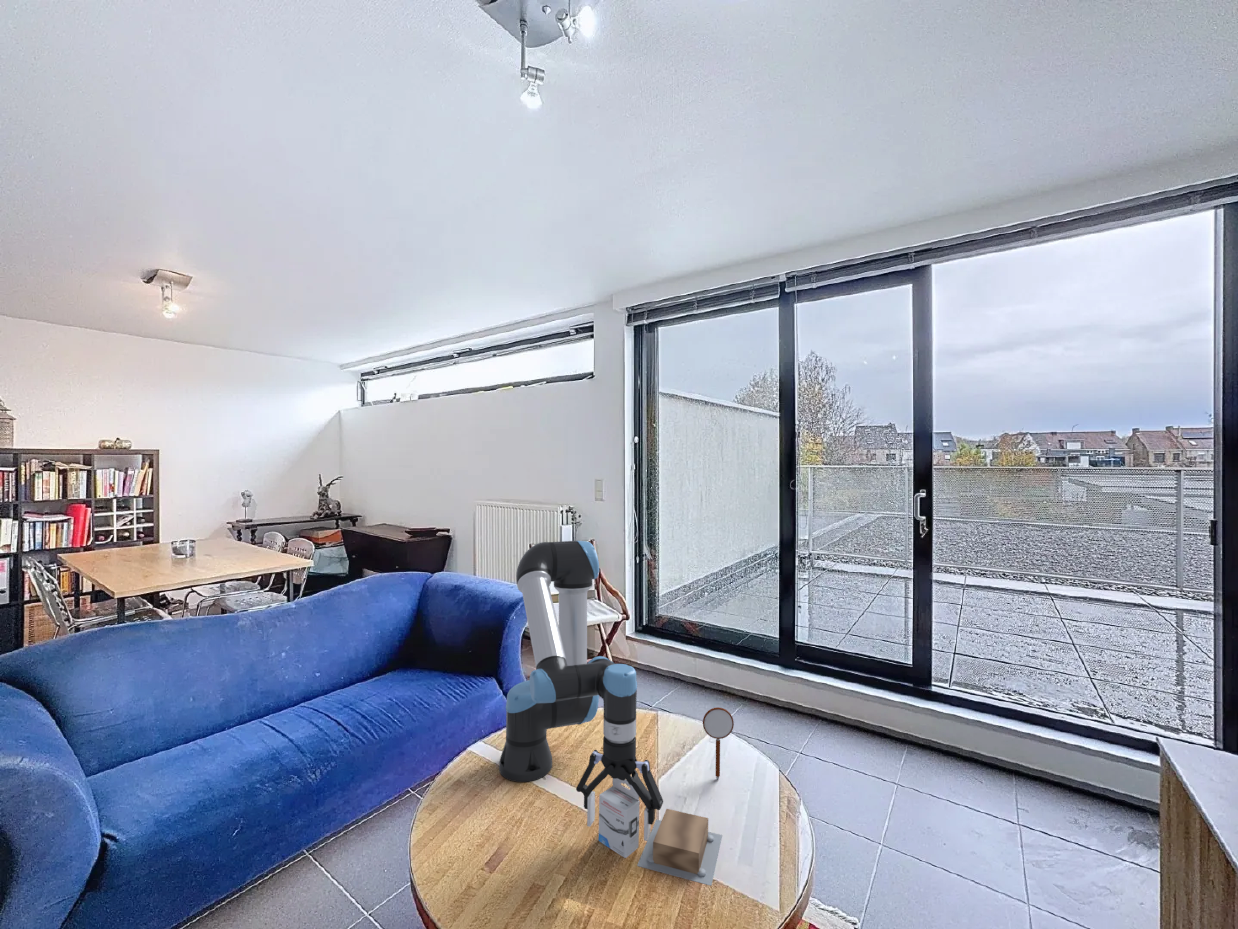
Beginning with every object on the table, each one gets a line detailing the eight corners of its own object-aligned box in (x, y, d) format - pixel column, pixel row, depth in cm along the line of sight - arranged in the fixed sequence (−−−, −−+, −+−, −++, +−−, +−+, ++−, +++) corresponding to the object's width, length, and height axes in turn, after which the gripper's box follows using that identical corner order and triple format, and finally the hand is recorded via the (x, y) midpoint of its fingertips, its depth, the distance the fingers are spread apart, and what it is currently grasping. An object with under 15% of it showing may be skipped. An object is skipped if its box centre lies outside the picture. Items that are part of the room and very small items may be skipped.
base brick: (652, 862, 115) (653, 842, 115) (666, 827, 126) (666, 808, 126) (698, 874, 111) (698, 853, 111) (708, 837, 123) (708, 818, 123)
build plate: (636, 871, 114) (637, 863, 114) (656, 824, 129) (656, 817, 129) (711, 891, 108) (711, 883, 108) (722, 840, 124) (722, 833, 124)
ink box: (597, 845, 121) (598, 781, 122) (611, 834, 125) (612, 772, 125) (625, 864, 116) (626, 796, 116) (639, 852, 119) (640, 786, 120)
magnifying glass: (732, 778, 149) (733, 706, 149) (733, 781, 147) (734, 709, 147) (701, 777, 149) (702, 705, 149) (702, 780, 147) (703, 708, 148)
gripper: (563, 734, 121) (561, 827, 121) (668, 754, 113) (667, 854, 113) (576, 719, 128) (575, 807, 128) (676, 738, 120) (675, 832, 120)
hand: (618, 830), depth 120 cm, fingers open, 13 cm apart
